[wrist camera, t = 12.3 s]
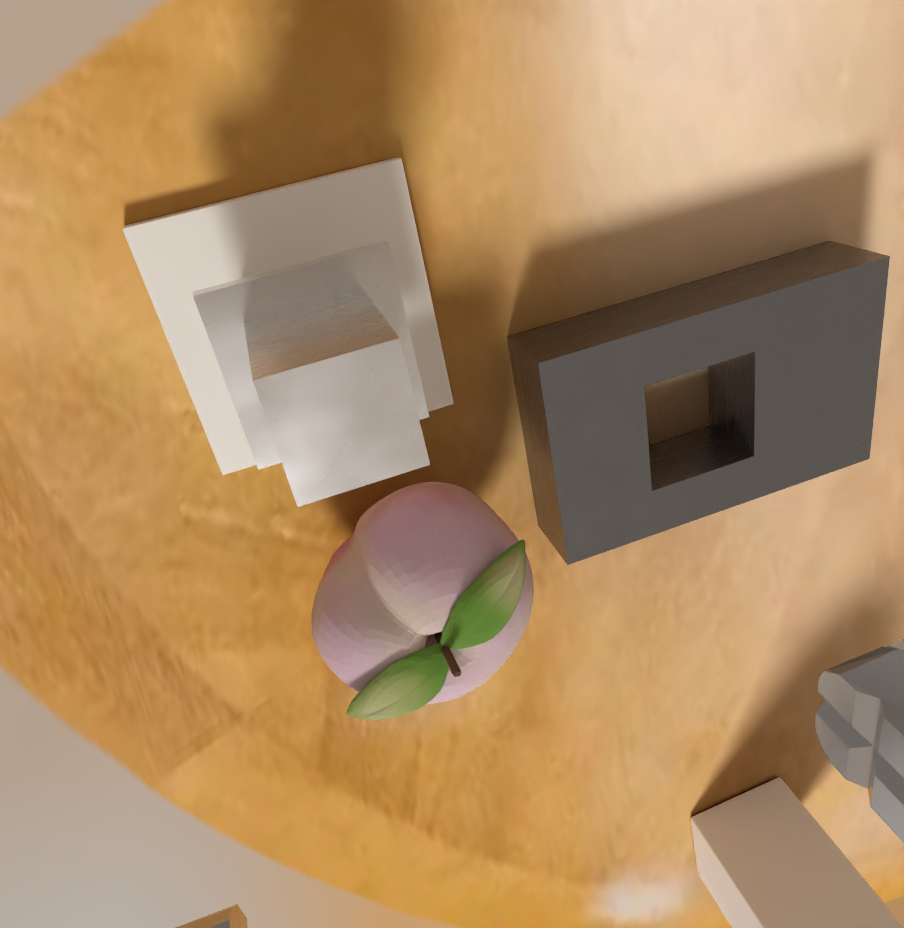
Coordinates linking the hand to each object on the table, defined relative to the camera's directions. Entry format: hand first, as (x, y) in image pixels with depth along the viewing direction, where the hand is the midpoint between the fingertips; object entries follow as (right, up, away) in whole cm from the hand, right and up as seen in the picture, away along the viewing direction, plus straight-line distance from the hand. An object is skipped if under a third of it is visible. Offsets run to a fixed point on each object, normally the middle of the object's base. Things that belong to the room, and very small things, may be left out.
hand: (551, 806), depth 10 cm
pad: (-7, +10, +19) cm, 23 cm away
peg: (-7, +10, +19) cm, 22 cm away
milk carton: (+19, -21, +44) cm, 53 cm away
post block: (+10, +8, +26) cm, 29 cm away
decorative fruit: (-4, +2, +25) cm, 26 cm away
